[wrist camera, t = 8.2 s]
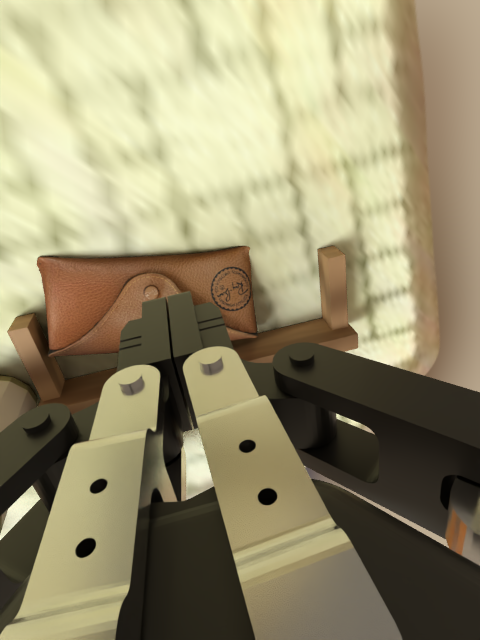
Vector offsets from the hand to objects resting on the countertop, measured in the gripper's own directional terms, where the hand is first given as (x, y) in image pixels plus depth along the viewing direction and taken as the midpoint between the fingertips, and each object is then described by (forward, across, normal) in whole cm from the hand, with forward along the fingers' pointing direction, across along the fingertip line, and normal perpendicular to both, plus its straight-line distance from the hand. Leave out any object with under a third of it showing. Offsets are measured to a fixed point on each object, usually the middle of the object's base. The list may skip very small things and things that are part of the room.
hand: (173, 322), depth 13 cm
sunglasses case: (+22, +3, +9) cm, 24 cm away
